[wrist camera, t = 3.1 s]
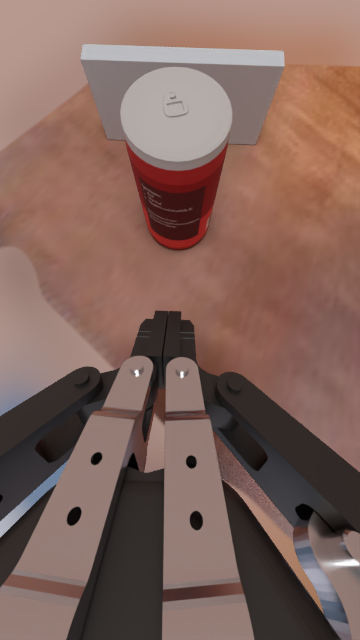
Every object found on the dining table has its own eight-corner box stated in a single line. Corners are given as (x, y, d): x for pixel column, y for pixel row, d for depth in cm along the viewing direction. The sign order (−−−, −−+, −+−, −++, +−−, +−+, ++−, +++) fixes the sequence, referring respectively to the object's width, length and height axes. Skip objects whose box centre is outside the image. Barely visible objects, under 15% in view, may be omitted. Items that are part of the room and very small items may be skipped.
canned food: (189, 185, 24) (198, 49, 13) (220, 235, 23) (257, 131, 12) (136, 209, 23) (99, 89, 13) (165, 262, 22) (151, 179, 11)
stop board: (254, 103, 26) (281, 14, 19) (255, 144, 25) (284, 66, 18) (112, 98, 26) (88, 8, 19) (107, 139, 25) (80, 59, 18)
